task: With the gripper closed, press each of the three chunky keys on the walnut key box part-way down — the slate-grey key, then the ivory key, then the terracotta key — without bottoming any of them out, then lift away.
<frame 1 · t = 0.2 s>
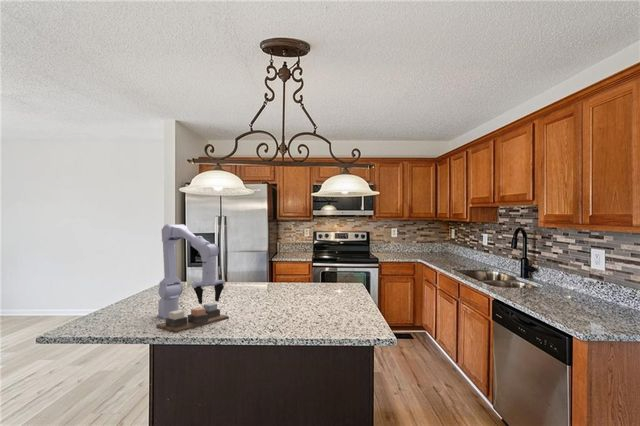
hand: (208, 302, 168), 10 cm above the counter, tool pointing down, fingers open, 7 cm apart
terracotta key: (198, 312, 170), point 5 cm above the counter, slide at 0.0 cm
ivory key: (176, 315, 164), point 5 cm above the counter, slide at 0.0 cm
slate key: (210, 308, 179), point 5 cm above the counter, slide at 0.0 cm
key box: (194, 322, 172), on the counter
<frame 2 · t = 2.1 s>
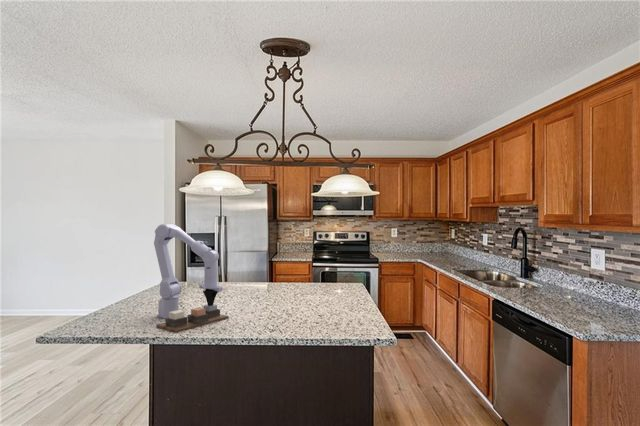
hand: (210, 305, 179), 6 cm above the counter, tool pointing down, fingers closed, pressing on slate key
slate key: (210, 309, 179), point 4 cm above the counter, slide at 0.5 cm, touching gripper
everything else where it was.
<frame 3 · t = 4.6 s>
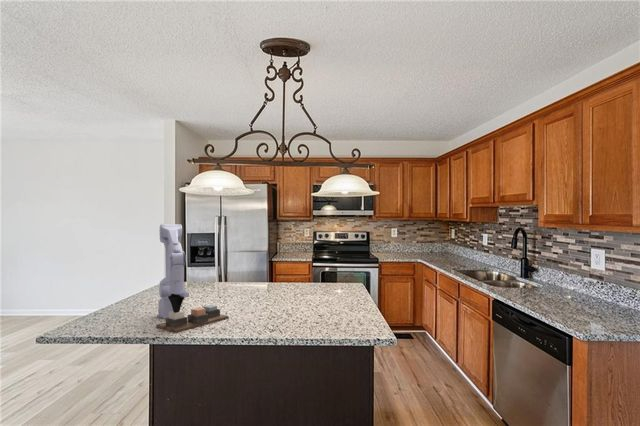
hand: (176, 312, 164), 6 cm above the counter, tool pointing down, fingers closed, pressing on ivory key
ivory key: (176, 316, 164), point 5 cm above the counter, slide at 0.0 cm, touching gripper
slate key: (210, 309, 179), point 4 cm above the counter, slide at 0.9 cm
everything else where it was.
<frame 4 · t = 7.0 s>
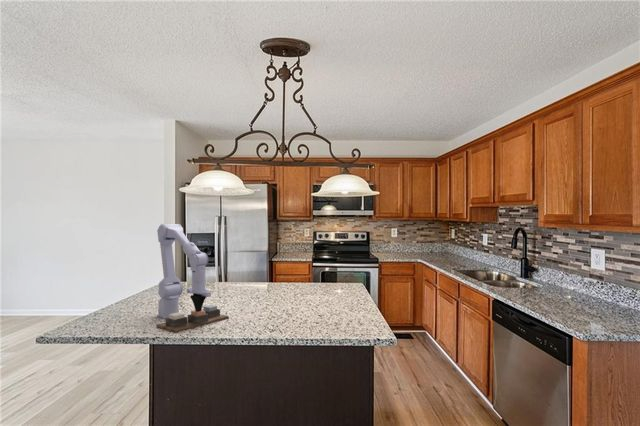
hand: (198, 311, 170), 6 cm above the counter, tool pointing down, fingers closed, pressing on terracotta key
terracotta key: (198, 314, 170), point 4 cm above the counter, slide at 0.9 cm, touching gripper
ivory key: (176, 318, 164), point 4 cm above the counter, slide at 0.9 cm
everything else where it was.
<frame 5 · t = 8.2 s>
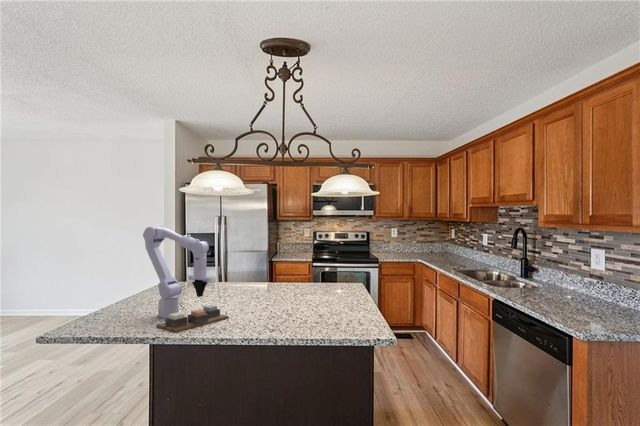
hand: (199, 296, 178), 10 cm above the counter, tool pointing down, fingers closed
terracotta key: (198, 314, 170), point 4 cm above the counter, slide at 0.9 cm
everything else where it was.
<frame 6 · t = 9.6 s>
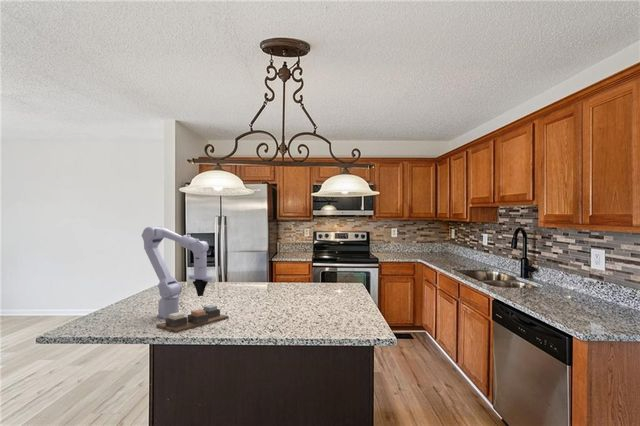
hand: (200, 295, 179), 10 cm above the counter, tool pointing down, fingers closed
nothing on the counter moved.
at the end: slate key slide at 0.9 cm; ivory key slide at 0.9 cm; terracotta key slide at 0.9 cm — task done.
